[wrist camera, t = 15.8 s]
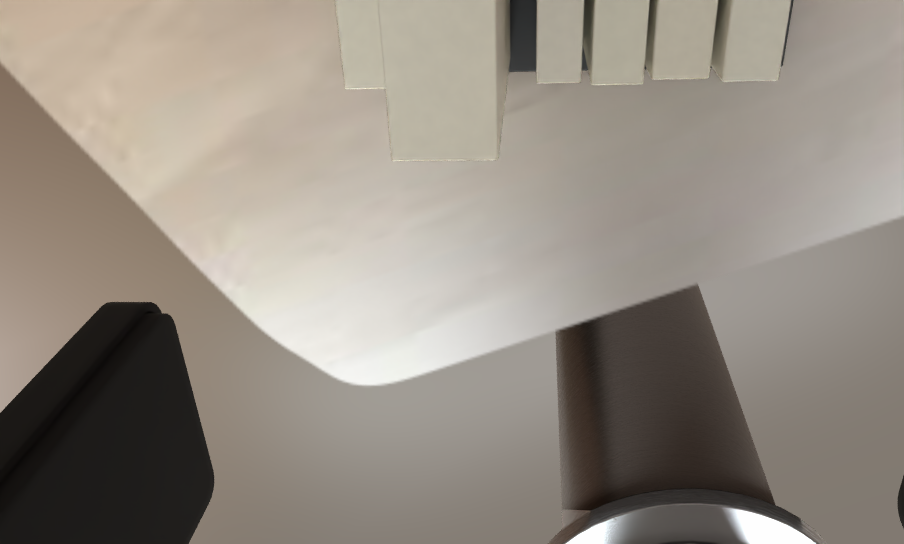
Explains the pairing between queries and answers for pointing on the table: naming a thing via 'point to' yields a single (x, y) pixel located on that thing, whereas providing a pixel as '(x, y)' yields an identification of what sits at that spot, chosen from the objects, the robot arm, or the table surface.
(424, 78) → the white book
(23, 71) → the table surface
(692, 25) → the cubes on dark base
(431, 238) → the table surface
